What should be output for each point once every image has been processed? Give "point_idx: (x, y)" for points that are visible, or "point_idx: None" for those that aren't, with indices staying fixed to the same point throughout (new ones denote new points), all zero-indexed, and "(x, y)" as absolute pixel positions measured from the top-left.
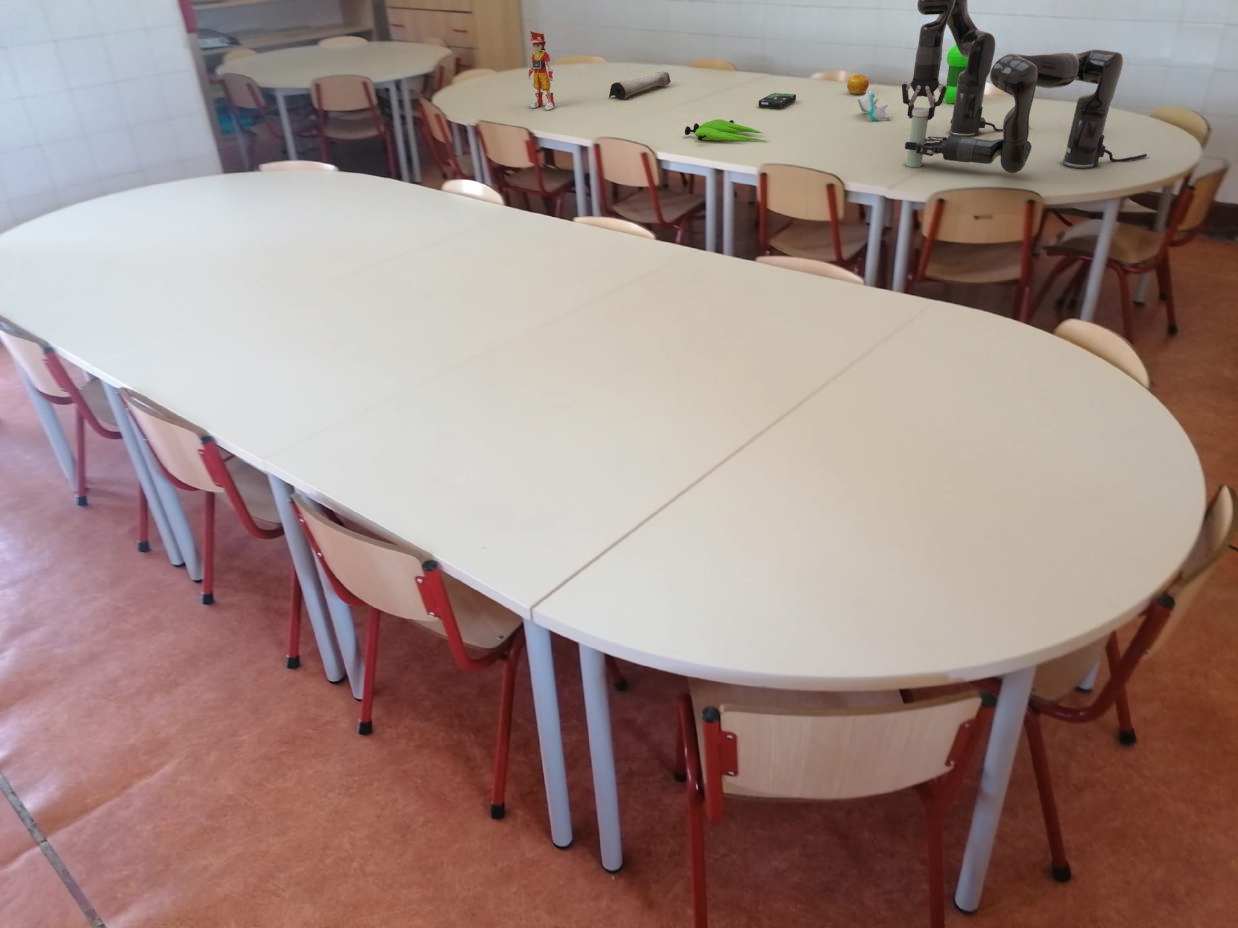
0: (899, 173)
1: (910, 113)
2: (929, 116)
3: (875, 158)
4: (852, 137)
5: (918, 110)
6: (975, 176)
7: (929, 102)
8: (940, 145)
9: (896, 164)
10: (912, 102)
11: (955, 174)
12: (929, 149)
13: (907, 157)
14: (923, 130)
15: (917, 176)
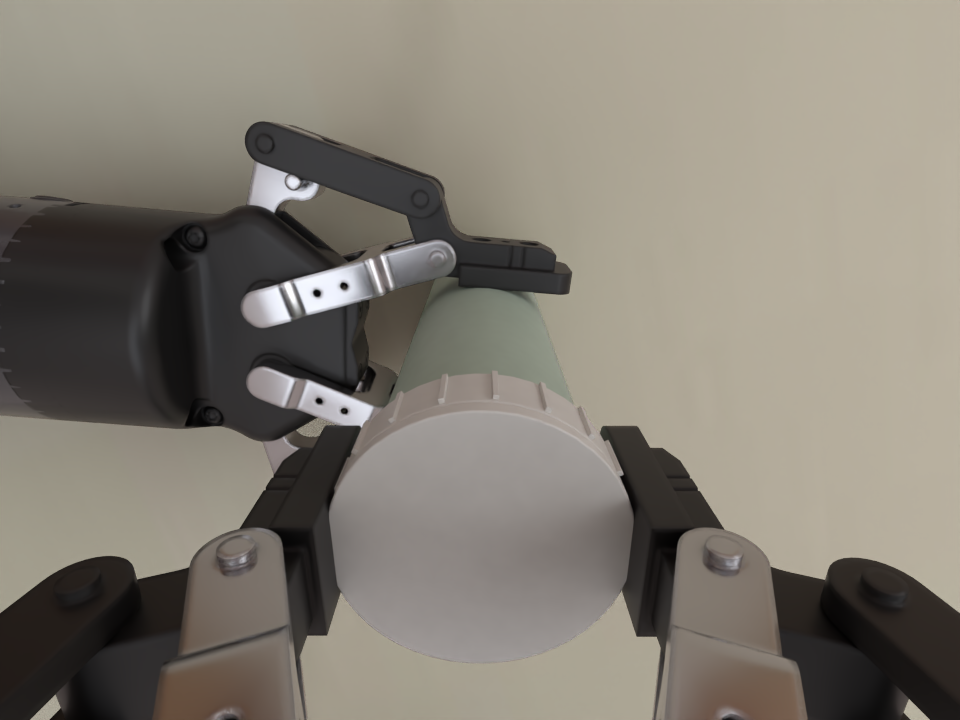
0: (530, 64)
1: (641, 461)
2: (329, 448)
3: (753, 365)
4: None
5: (512, 464)
6: (18, 185)
7: (288, 614)
8: (227, 261)
9: (596, 280)
10: (698, 591)
11: (156, 185)
12: (293, 130)
13: None
14: (412, 352)
15: (383, 32)
